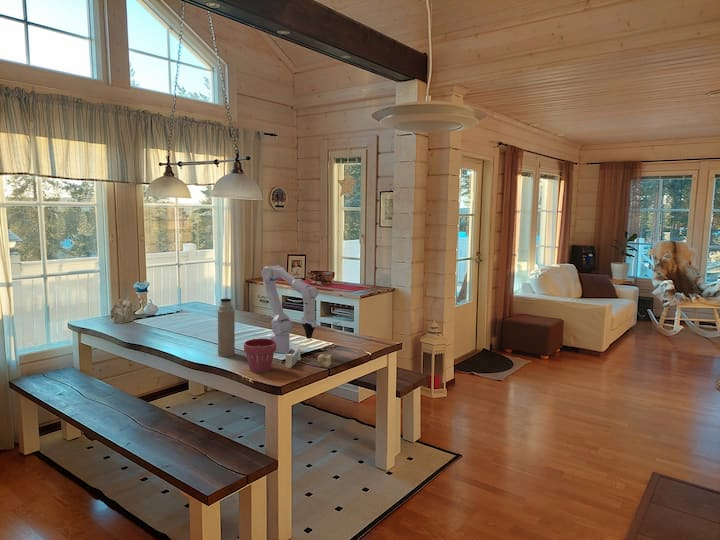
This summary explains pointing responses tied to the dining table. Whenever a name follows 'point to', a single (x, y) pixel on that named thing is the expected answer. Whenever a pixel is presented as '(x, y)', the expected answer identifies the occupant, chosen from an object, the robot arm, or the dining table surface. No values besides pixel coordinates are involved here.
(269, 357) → the plant pot
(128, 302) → the grey rough lump
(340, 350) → the dining table surface
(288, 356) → the latch stile
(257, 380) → the dining table surface
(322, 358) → the block
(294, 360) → the gate
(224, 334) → the thermos bottle
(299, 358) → the gate post
